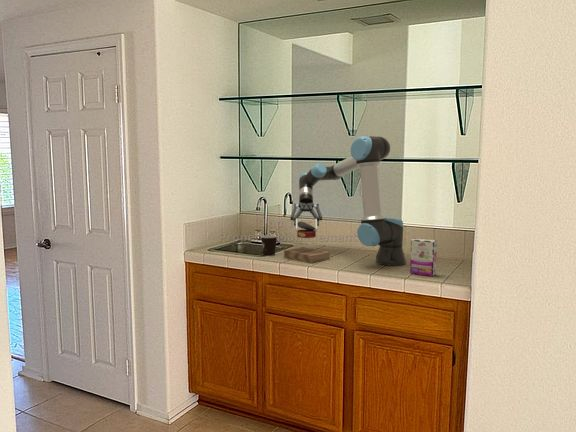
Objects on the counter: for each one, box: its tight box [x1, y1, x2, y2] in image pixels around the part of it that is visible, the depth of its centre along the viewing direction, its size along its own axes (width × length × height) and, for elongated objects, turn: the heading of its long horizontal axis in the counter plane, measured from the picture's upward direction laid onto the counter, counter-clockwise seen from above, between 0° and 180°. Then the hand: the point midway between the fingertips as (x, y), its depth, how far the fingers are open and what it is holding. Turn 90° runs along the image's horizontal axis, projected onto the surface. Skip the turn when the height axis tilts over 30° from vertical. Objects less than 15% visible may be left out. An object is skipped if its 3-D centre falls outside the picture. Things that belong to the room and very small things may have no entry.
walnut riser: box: [283, 246, 330, 264], centre depth 277 cm, size 20×14×4 cm
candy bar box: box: [409, 238, 438, 277], centre depth 242 cm, size 11×5×16 cm, turn 56°
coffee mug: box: [260, 234, 278, 257], centre depth 289 cm, size 12×9×10 cm
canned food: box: [296, 221, 317, 239], centre depth 276 cm, size 11×10×10 cm
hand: (306, 230), depth 272 cm, fingers closed on canned food, 10 cm apart
